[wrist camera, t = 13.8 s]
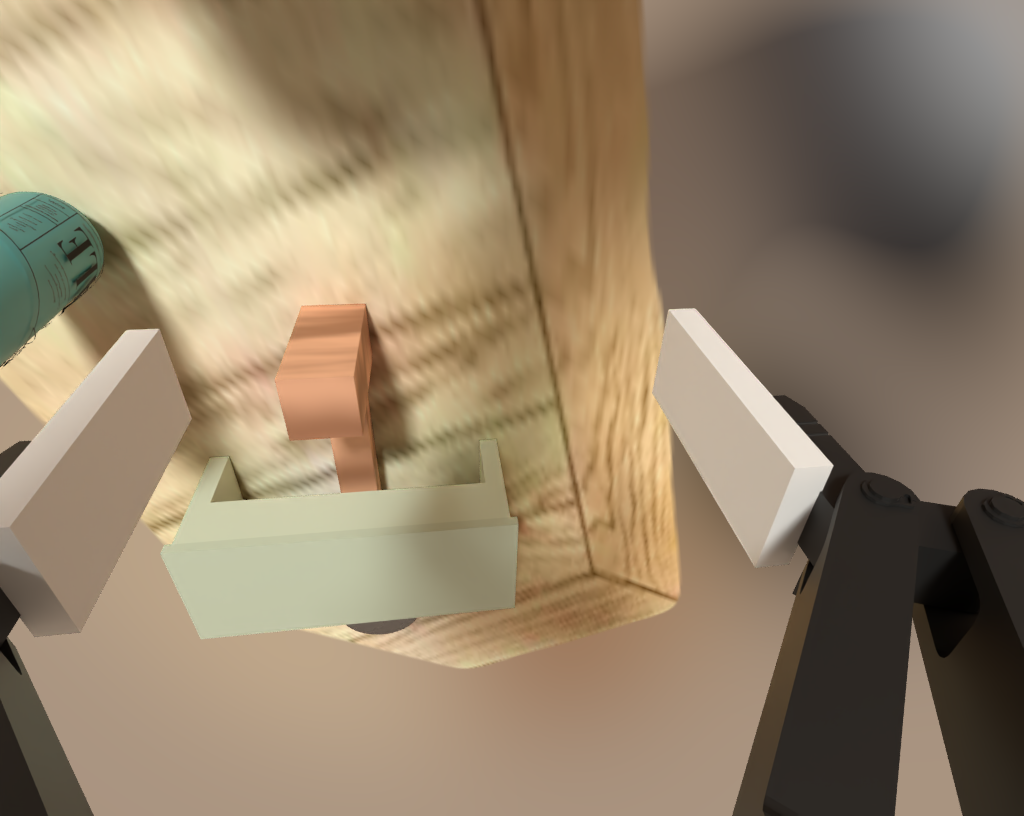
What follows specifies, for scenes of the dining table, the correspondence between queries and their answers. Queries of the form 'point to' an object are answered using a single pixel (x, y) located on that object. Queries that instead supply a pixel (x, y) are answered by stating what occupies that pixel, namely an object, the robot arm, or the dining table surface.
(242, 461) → the dining table surface
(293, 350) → the paddle
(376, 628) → the puck
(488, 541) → the shelf
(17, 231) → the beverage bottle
